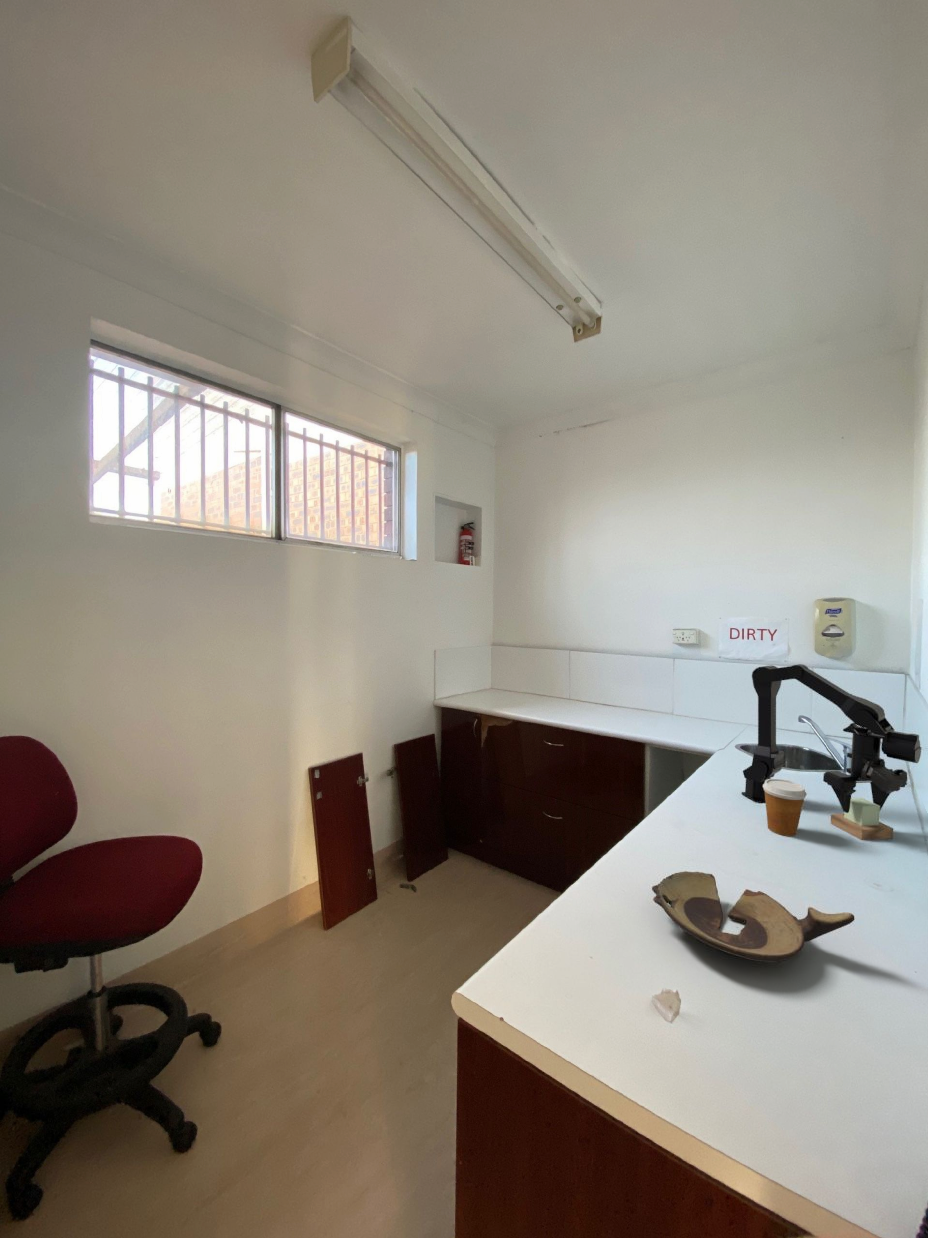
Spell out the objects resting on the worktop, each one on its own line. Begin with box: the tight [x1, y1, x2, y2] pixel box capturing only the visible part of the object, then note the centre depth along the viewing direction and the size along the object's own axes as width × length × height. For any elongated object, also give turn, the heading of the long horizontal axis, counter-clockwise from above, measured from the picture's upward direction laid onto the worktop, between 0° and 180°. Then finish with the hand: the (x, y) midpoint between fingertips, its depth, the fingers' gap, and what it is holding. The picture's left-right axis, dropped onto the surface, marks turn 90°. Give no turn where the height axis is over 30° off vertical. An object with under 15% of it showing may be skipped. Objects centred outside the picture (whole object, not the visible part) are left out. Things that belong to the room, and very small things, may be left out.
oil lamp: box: [651, 870, 855, 963], centre depth 88 cm, size 22×30×8 cm
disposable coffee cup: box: [763, 778, 808, 837], centre depth 130 cm, size 10×10×12 cm
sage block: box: [843, 797, 881, 826], centre depth 131 cm, size 5×5×5 cm
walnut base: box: [830, 813, 894, 841], centre depth 131 cm, size 9×9×2 cm
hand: (861, 811), depth 131 cm, fingers open, 9 cm apart
